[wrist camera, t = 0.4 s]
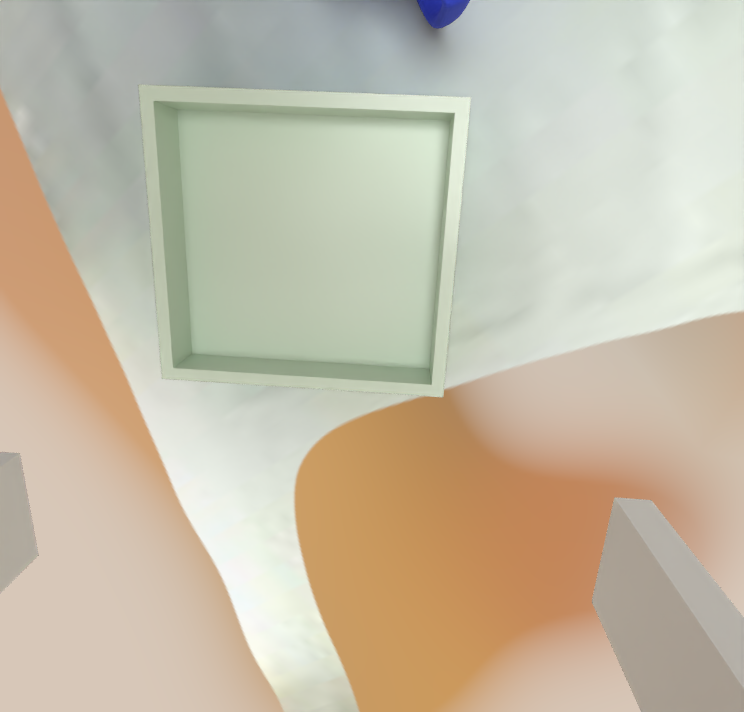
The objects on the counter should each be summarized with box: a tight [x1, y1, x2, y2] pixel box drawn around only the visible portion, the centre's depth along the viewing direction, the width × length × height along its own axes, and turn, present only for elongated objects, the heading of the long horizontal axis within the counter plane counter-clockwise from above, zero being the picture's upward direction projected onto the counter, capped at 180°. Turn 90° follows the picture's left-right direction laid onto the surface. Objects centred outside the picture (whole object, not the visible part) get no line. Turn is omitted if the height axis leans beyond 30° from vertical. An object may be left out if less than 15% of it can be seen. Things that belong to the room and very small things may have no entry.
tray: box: [138, 85, 471, 397], centre depth 33 cm, size 18×19×4 cm
